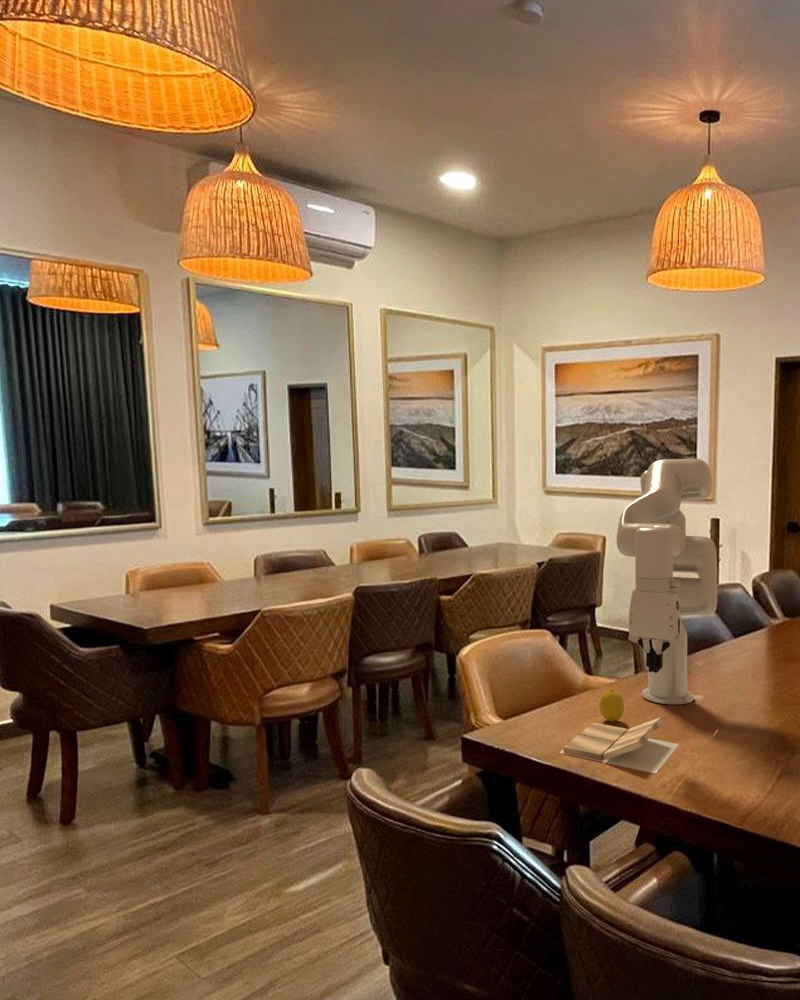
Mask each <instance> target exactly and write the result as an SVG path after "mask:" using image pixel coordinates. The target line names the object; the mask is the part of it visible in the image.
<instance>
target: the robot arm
mask: <svg viewBox="0 0 800 1000" xmlns="http://www.w3.org/2000/svg"><path fill="white" fill-rule="evenodd" d="M711 474H712V473H711V469H710V467H709V465H708V463H706V461H704V460H703V459H700V458H666V459H665V458H664V459H659V460H655V461H654V462H652V463H651V464H650V465H649V466H648V468H647V470H645V471H644V472H643V473H642V474H641V475H640V490H641V494H642V496H640V497H639V498H636V499H634V500H633V501H632V502H631V503H629V504H628V506H626V507H625V508H624V510H623V511H622V512H621V515H620V518H619V522H618V527H617V531H616V532H617V533H616V548H617V549H618V552H619V553H620V554H621V555H622V556H625V557H628V558H635V563H634V564H635V566H634V568H635V573H634V574H635V589H632V592H631V597H630V602H629V610H628V611H629V612H628V633H629V635H628V636H627V637H628V638H627V639H628V641H630V642H633V643H635V644H638V645H639V646H640V647H641V648H642V650H643V652H644V653H645V654H646V655H645V658H646V659H645V665H646V667H647V669H648V671H647V672H648V673H647V675H648V676H647V678H648V681H647V682H648V683H647V684H648V686H647V687H646V688H644V689H642V691H641V692H642V693H641V695H642V697H643V698H644V699H645V700H648V701H650V702H653V703H656V704H657V703H658V704H662V705H685V704H690V703H692V702H693V701H694V698H695V697H694V696H695V695H694V694H693V693H692V692H691V691H689V690H688V633H687V629H686V627H685V625H684V624H683V623H682V615H685V616H704V617H707V616H711V615H713V614H714V613H716V610H717V608H718V607H717V606H718V554H717V548H716V544H715V542H714V541H713V540H712V538H710V537H708V536H702V535H701V536H700V535H698V536H697V535H696V536H695V535H686V527H687V522H686V517H685V514H684V513H683V512H682V510H681V509H680V507H681V504H682V501H703V500H706V499H708V498H709V496H710V495H711V492H712V488H713V479H712V475H711ZM674 573H687V574H688V573H689V574H690V573H692V574H695V575H697V577H686V576H685V577H681V576H674Z"/></svg>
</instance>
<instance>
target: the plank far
mask: <svg viewBox="0 0 800 1000" xmlns="http://www.w3.org/2000/svg"><path fill="white" fill-rule="evenodd" d="M664 722H665V721H664V719H663V717H662V716H659V717H656V718H655V719H651V720H649V721H646V722H644V723H641V724H638V725H636V726H633V727H630V728H629V729H628V731H627V732H626V733H625V734H624V735H623V736H622V737H620V738H619V739H618V740H617V741H619V740H621V739H624V738H627V737H629V736H632V735H635V734H637V733H640V732H643V731H645V730H648V729H649V730H650V731H651V733H652V735H653V734H654V733H655V732H656V731H657V730H658V729H659V728H660V727H661V726H662V724H663V723H664Z"/></svg>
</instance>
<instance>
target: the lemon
mask: <svg viewBox="0 0 800 1000" xmlns="http://www.w3.org/2000/svg"><path fill="white" fill-rule="evenodd" d="M624 704H625V703H624V700H623V697H622V696H621V695H620V693H618V692H617V691H615V690H614V689H612V688H611V689H609V690H607V691H604V692H603V694H601V696H600V700H599V704H598V705H599V711H600V714H601V716H602V717H603V718H604V719H605V720H607V721H609V723H614V722H616V721H618V720H620V719H621V718H622V717H623V714H624V710H625V705H624Z"/></svg>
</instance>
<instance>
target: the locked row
mask: <svg viewBox="0 0 800 1000" xmlns="http://www.w3.org/2000/svg"><path fill="white" fill-rule="evenodd" d="M628 730H629V729H628V728H624V727H618V726H613V725H609V724H603V723H598V722H592V723H591V724H589V725H588V726H587V727H585V729H583V730H582V731H581V732H579V733H578V734H577V735H576V736H574V737H573V739H571V740H570V741H569V742H567V743H566V744H565V745H564V746H563V749H564V753H568V754H573V755H577V756H582V757H587V758H591V759H596V760H600V761H601V760H602V759H603V758H604V756H603V754H604V753H605V752H606V751H607V750H608V749H609V748H610V747H611V746H612V745H613V744H614V743H615V742H616V741H617V740H618V739H619V738H620V737H622V736H623V735H624V734H625V733H626V732H627V731H628Z"/></svg>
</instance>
